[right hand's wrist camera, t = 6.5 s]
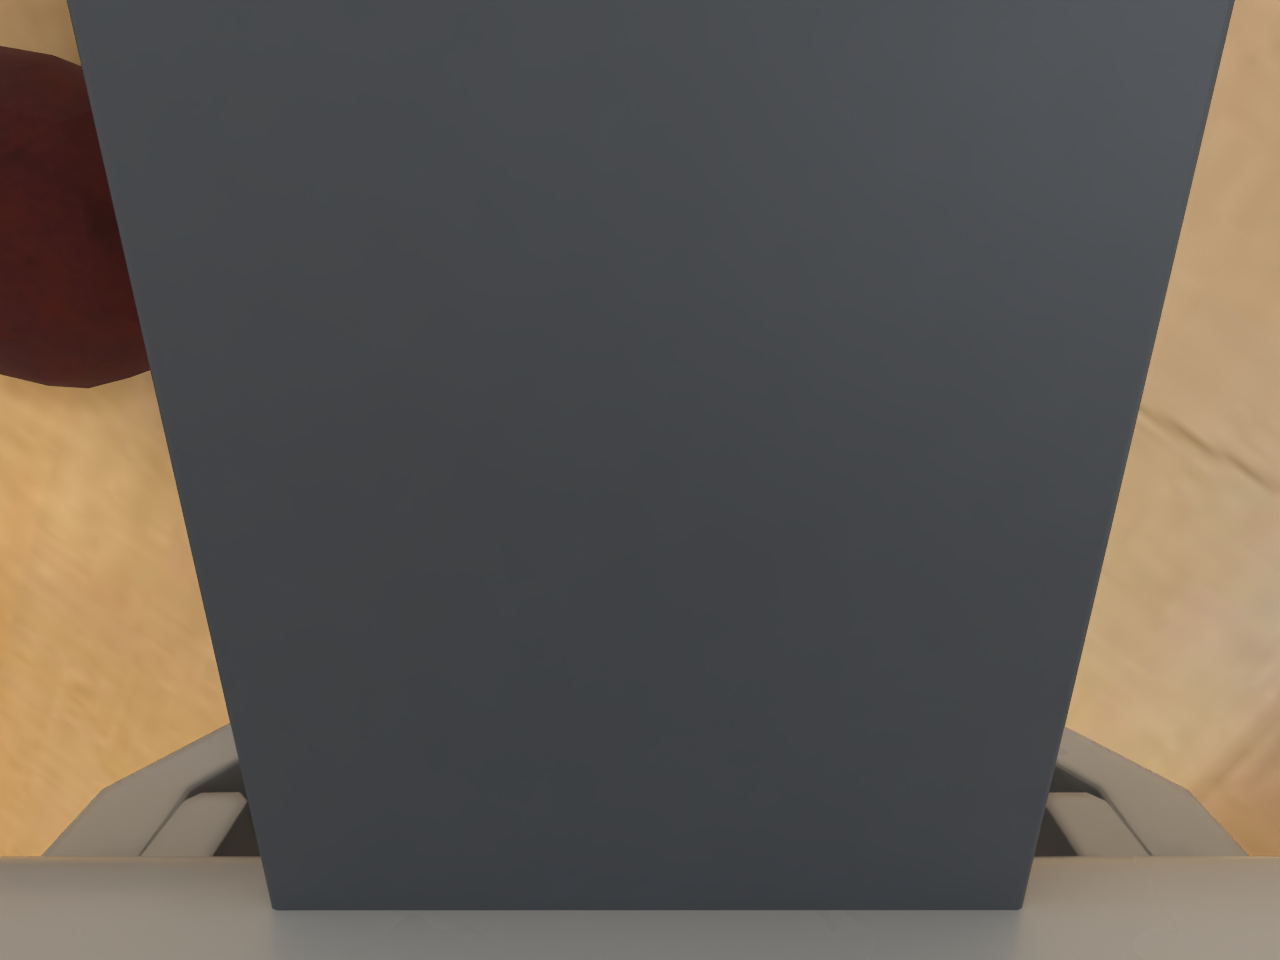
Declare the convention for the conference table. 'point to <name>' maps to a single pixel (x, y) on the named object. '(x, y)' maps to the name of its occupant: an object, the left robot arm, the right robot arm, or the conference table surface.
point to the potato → (59, 235)
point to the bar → (649, 421)
